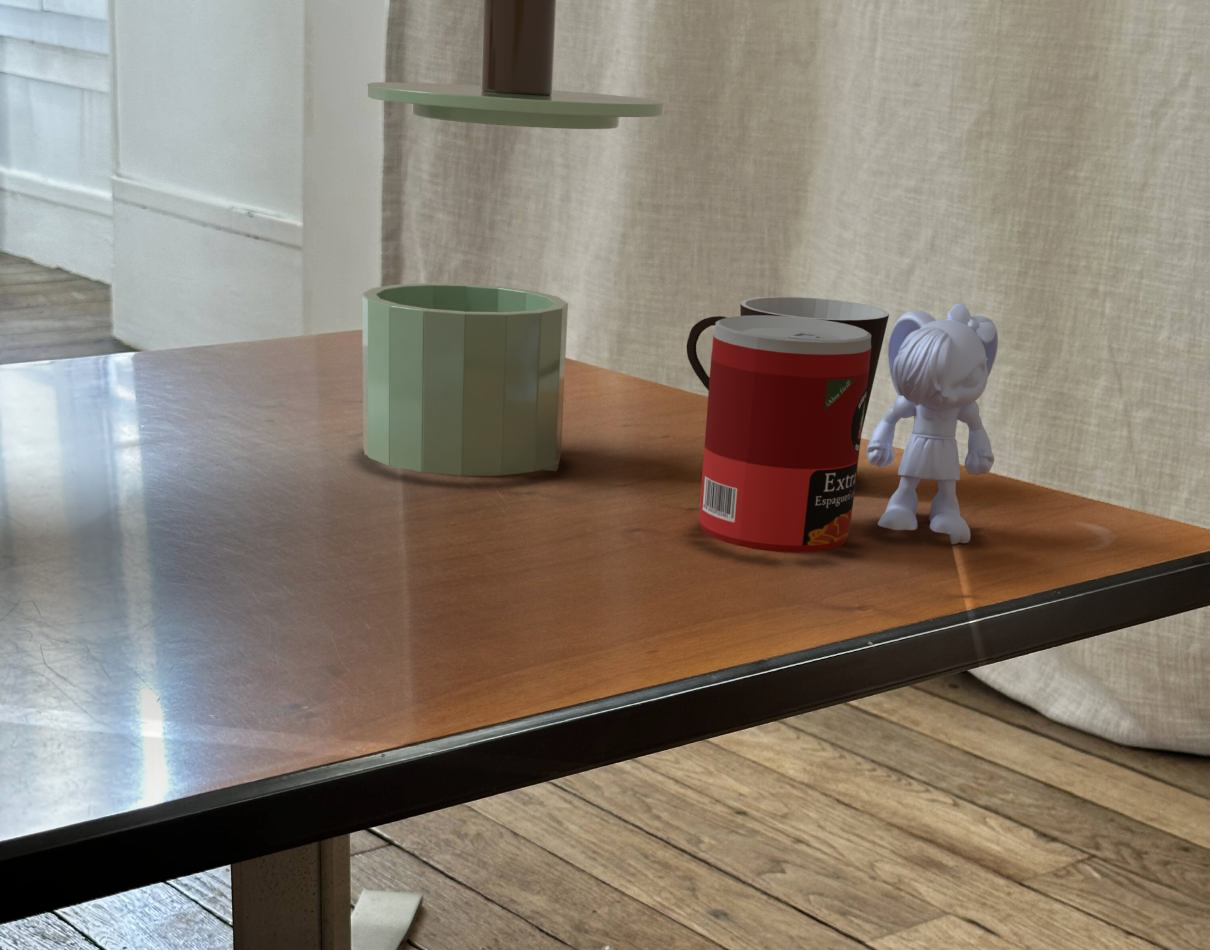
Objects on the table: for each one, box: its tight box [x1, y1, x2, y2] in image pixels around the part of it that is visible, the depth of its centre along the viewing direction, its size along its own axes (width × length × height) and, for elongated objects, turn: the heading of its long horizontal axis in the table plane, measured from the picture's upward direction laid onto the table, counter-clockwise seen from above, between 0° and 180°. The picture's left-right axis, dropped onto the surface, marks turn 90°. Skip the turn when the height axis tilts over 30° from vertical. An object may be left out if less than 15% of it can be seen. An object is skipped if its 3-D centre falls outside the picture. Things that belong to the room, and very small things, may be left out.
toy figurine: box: [865, 303, 999, 545], centre depth 91 cm, size 7×6×12 cm
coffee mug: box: [686, 296, 890, 431], centre depth 102 cm, size 12×9×10 cm
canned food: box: [698, 315, 871, 553], centre depth 88 cm, size 8×8×11 cm
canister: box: [362, 282, 569, 477], centre depth 101 cm, size 12×12×10 cm
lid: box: [366, 0, 666, 130], centre depth 71 cm, size 13×13×9 cm
